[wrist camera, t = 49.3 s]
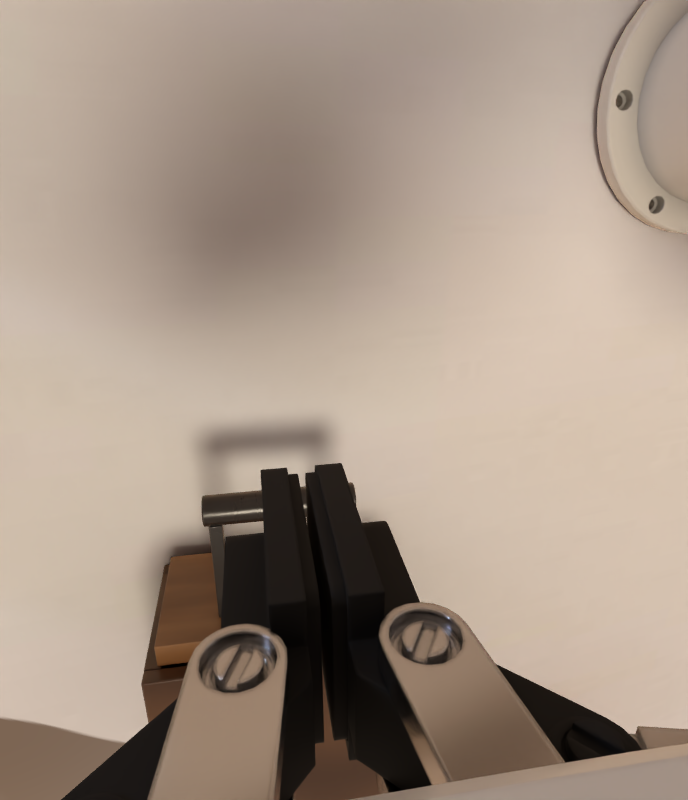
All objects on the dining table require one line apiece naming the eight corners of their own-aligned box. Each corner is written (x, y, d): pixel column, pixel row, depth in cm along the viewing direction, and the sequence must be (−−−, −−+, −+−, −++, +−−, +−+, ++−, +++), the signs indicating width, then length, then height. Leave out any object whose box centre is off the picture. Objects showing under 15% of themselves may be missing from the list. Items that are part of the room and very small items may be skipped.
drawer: (155, 451, 30) (132, 524, 24) (384, 434, 32) (419, 497, 26) (195, 724, 37) (185, 834, 31) (378, 697, 39) (403, 796, 33)
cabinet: (164, 564, 34) (140, 684, 26) (387, 541, 36) (428, 645, 28) (190, 738, 39) (177, 881, 31) (382, 709, 41) (416, 836, 33)
